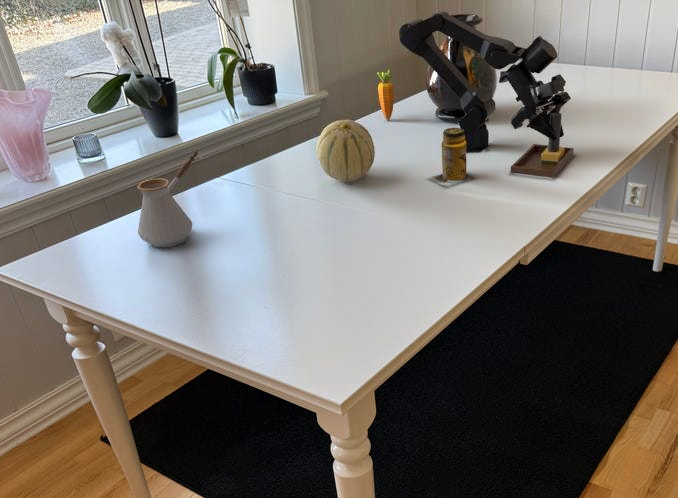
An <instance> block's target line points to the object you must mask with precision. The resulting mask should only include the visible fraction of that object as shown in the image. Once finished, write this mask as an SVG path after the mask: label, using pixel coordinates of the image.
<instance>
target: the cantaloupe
mask: <svg viewBox="0 0 678 498" xmlns="http://www.w3.org/2000/svg"><path fill="white" fill-rule="evenodd" d="M375 156H376V150H375V145H374V141H373V138H372V135H371V134H370V132H369V130H368V129H367V128H366V127H365V126H363V125H362V124H361V123H359V122H357V121H355V120H352V119H340V120H336V121H333V122H331V123H330V124H328V125H327V126H325V128H324V129H323V130H322V131H321V133H320V135H319V137H318V139H317V142H316V157H317V161H318V163H319V165H320V168H321V169H322V170H323V172H324V173H325V174H326V175H327V176H329V177H330V178H332V179H334V180H336V181H339V182H344V183H345V182H353V181H357V180H358V179H361V178H364V177H365V176H366V175H367V174H368V173H369V171H370V169H371V168H372V166H373V164H374V161H375Z"/></svg>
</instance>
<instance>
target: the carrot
mask: <svg viewBox="0 0 678 498" xmlns="http://www.w3.org/2000/svg"><path fill="white" fill-rule="evenodd" d="M391 72H392V71H391V69H387V72H383V71H382V72H380V71H378V72H377V73H376V74H377V76H378V77H379V79H380V80H381V82H379V84H378V86H377V90H378V100H379V105H380V109H381V112H382V115H383V116H384V118H385V120H386V121H387V122H389V121H390V120H391V118H392V116H393V111H394V103H395V91H394V90H395V89H394V83H393V82H391V81H389V80H390V79H391V77H392V76H391Z"/></svg>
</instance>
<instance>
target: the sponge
mask: <svg viewBox="0 0 678 498" xmlns="http://www.w3.org/2000/svg"><path fill="white" fill-rule="evenodd" d="M562 117H563V114H562V113H561V112H560V113H557V112H555V113H551V114H550V125H551V127H552V129H553V130H554V132H555V134H556V137H557V139H556V140H554V141H553V140H552V139H550V138H548V142H547V143H548V144H547V145H548V147H547V148H546V149H545V151H544V152H543V153H542V161H541V162H542V163H551V164H558V163H559V162H560V160H561V159H562V158H563V157H564V150H565V148H563V147H564V146H560V142H561V137H560V131H561V124H562Z"/></svg>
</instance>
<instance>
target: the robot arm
mask: <svg viewBox="0 0 678 498" xmlns="http://www.w3.org/2000/svg"><path fill="white" fill-rule="evenodd" d="M450 15H451V14H449V12H447V11H445V10H443V11H442V10H441V11H438V12H436V13H434V14H433V15H432V16H430V17H428V18H426V19H424V20H423V19H419V18H417V19H414V20H411V21H409V22H406V23H404V24H402V25H401V26H400V28H399V29H398V40H399V43H400V44H401V45H402V46H403V47H404V48H406V49H407V50H408V51H409V52H410V53H412V54H414V55H416V56H418V57H420V58H422V59H423V60H424V61H425V62H426V63H427V64H428V66H429V65H430V66H431V67H432V69H433V70H434V71H435V72H436V73H437V74H438V75H439V76H440V78H441V79H442V80H443V81H444V82H445V83H446V84H447V85H448V87H449V88H450V89H451V90H452V91H453V92H454V93H455V94H456V96H457V97H458V98H459V99H460V102H461V105H462V108H463V111H464V112H465V114H466V115H465V116H464V117H463V118H462V119H461V120H460V121H459V123H458V126H459V128H461V129H463V130H464V131H465V141H466V153H471V152H473V153H474V152H483V151H485V150H488V147H489V145H490V144H489V140H490V138H489V135H490V134H489V133H490V132H489V129H488V126H487V124H486V123H489V120H490V118H491V117H492V116H493V115H494V114H495V112H496V105H497V104H496V101H495V100H494V96H495V95H494V96H493V95H491V94H490V93H488V91H487V90H486V88H485V87H484V86H481V87H480V88H476V87H474V86H472V85H471V83H470V82H469V81H468V80H467V79H466V78H465V77H464V76H463V74H462V73H461V72H460V71H459V70H458V69H457V68H456V67H455V65H454V64H453V63H452V62H451V61H450V60H449V59H448V58H447V56H446V55H445V54H444V53H443V52H442V51H441V50H440V48H439V47H440V46H438V45H437V43H436V41H435V40H436V39H435V36H434V34H433V33H435V32H439V33H441V34H443V35H445V36H446V35H447V36H449V37H451V38H452V39H454V40H456V41H458V42H460V43H462V44H463V45H465V46H467V47H469V48H471V49H473V50H474V51H476V52H477V53H478V54H480V56H481V57H482V58H483V60H484V61H485V62H487V63H488V64H489V65H490V66H492V67H493V68H494V69H496V70H501V71H500V72H499V78H498V84H504V83H509V85H510V86H511V88H512V90H513V91H514V92H515V94H516V97H515V100H516V102H517V103H518V102H521V103H522V105H523V106H522V107H520V109H519V110H517V112H516V113H515V114H514V115H513V116H511V117H510V124H511V126H512V128H513V129H514V130H517V129H520V128H522V127H523V124H524V122H525V121H527V122H528V123H527V124H526V128H527V129H528V128H529V129H532V130H534V131H536V132H538V133H539V134H541V135H543V136H545V137H546V138H548V139H549V138H550V139H552V140H553V141H554V140H556V139H557V137H556V134H555V132H554V130H553V129H552V127H551V125H550V114H551V113H555V112H557V113H561V109H562V108H563V107H564V106H565V105H566V104H567V103H568V102H569V101H570V100H571V99H572V98H571V95H570V93H568V91H565V86H566V83H567V81H566V80H565V78H564V77H563V76H562V74H561V73H558V74H556V75H553V76H552V77H551V79H550V81H549V82H546V83H544V81H542V80H540V79H539V80H538V81H537V79H536V78H535V76H534V75H533V74H541V73H542V72H543V71H544V70H545V69H546V68H548V67H549V66H550V65H551V64H552V63H553V62H554V61H555V60H556V59H557V58H558V52H557V49H556V48H555V47H554V45H553V44H552V43H550V42H549V41H547V40H546V39H544V38H543V37H542V35H538V36H537V37H536V38H535V39H533V41H532V42H531V44H530V45H529V46H527V48H526V47H521V46H518V45H516V44H515V43H514V42H513V41H511V40H508V39H505V38H502V37H498V36H491V35H488V34H485V33H484V32H481V31H480V30H479V29H477V28H476V29H474V28H472V27H471V26H469V25H467V24H465V23H463V22H461V21H460V20H458V19H456V18H454V17H452V16H450ZM517 62H518V63H517ZM516 63H517V64H516ZM510 65H511V66H510ZM508 66H509V67H508ZM507 67H508V68H507ZM505 68H507V69H506V70H502V69H505ZM564 135H565V132H564V128H563V125H562V123H561V131H560V138H563V137H564Z"/></svg>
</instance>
